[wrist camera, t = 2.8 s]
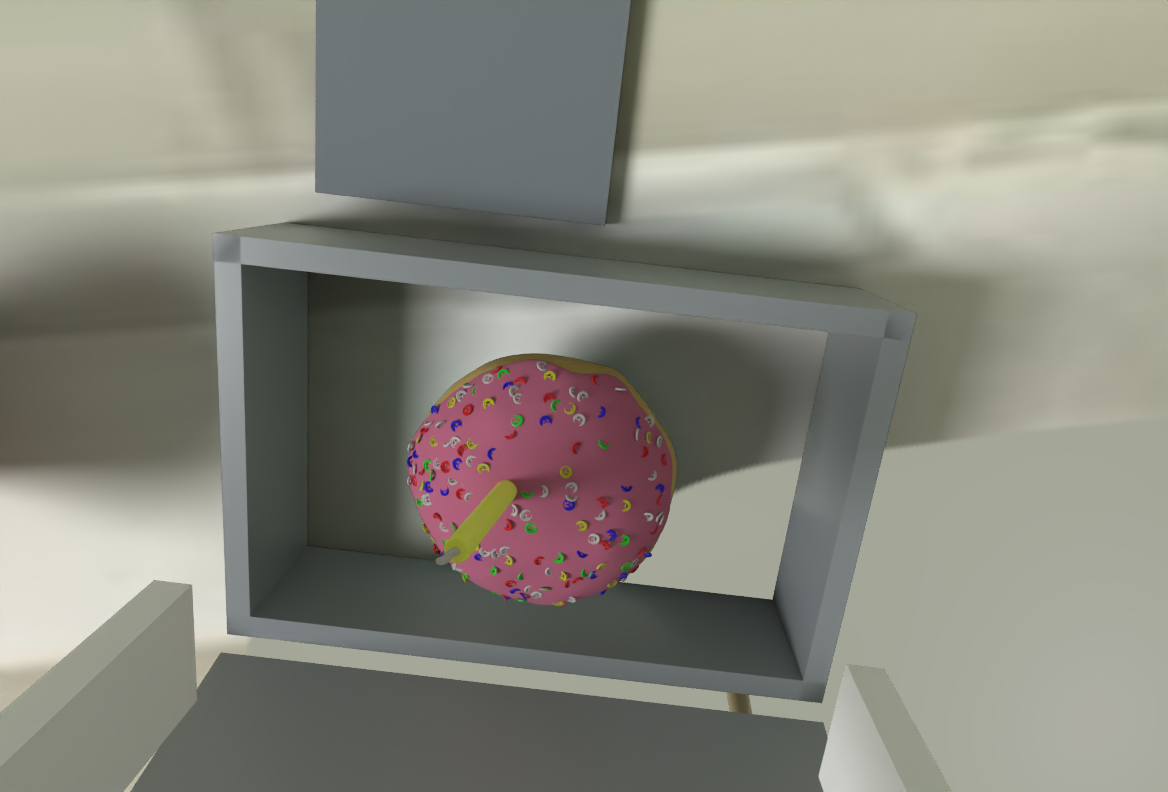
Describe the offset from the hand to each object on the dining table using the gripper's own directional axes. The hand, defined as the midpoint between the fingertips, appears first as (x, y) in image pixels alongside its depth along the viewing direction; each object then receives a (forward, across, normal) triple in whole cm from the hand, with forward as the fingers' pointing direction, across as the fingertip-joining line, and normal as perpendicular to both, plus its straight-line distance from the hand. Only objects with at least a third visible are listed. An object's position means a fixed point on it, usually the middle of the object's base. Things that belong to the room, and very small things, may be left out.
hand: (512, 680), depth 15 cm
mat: (+14, -4, +13) cm, 20 cm away
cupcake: (+14, 0, 0) cm, 14 cm away
